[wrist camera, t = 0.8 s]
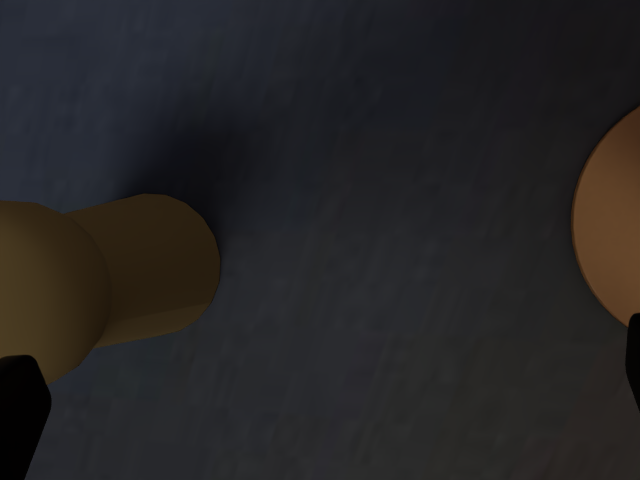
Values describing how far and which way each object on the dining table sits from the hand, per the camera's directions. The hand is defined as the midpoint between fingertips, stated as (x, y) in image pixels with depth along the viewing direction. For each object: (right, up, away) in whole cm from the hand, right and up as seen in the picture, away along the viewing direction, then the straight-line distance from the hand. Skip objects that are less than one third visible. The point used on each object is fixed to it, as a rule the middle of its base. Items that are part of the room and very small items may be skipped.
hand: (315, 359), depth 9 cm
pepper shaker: (-7, +1, +17) cm, 18 cm away
